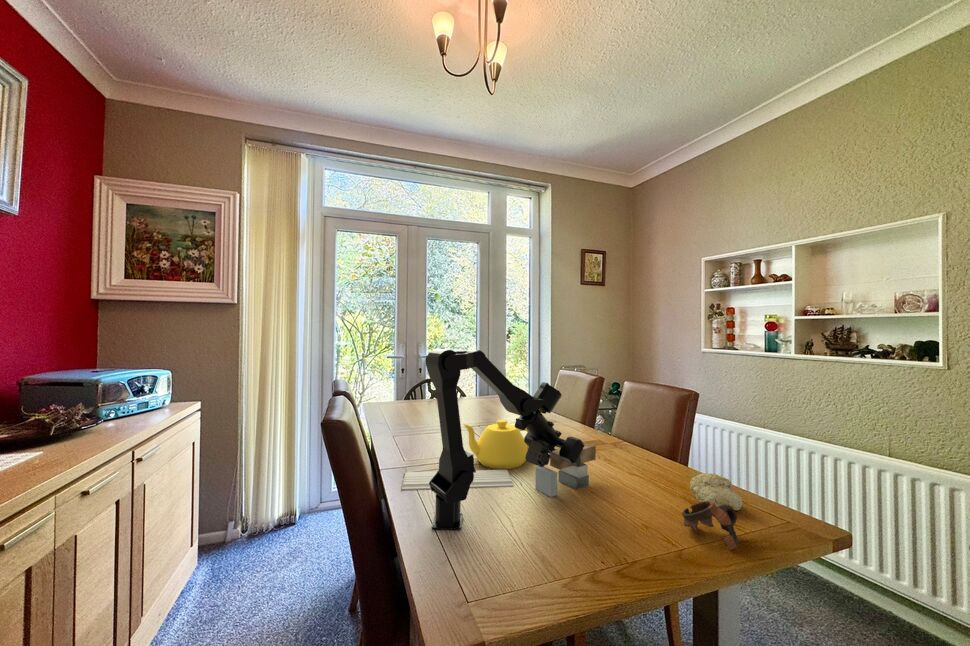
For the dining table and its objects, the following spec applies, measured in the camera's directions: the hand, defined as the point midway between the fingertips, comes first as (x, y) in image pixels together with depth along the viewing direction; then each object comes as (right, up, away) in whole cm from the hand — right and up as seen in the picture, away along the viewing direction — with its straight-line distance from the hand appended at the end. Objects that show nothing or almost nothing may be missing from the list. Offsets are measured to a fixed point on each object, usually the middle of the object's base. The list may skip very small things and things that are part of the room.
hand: (567, 460), depth 105 cm
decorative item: (+36, -8, -10) cm, 38 cm away
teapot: (-19, -8, +19) cm, 28 cm away
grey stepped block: (+2, -7, +1) cm, 8 cm away
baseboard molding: (-32, -8, +2) cm, 32 cm away
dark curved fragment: (+26, -7, -26) cm, 37 cm away
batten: (+2, -1, +1) cm, 3 cm away
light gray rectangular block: (-7, -7, -5) cm, 11 cm away
